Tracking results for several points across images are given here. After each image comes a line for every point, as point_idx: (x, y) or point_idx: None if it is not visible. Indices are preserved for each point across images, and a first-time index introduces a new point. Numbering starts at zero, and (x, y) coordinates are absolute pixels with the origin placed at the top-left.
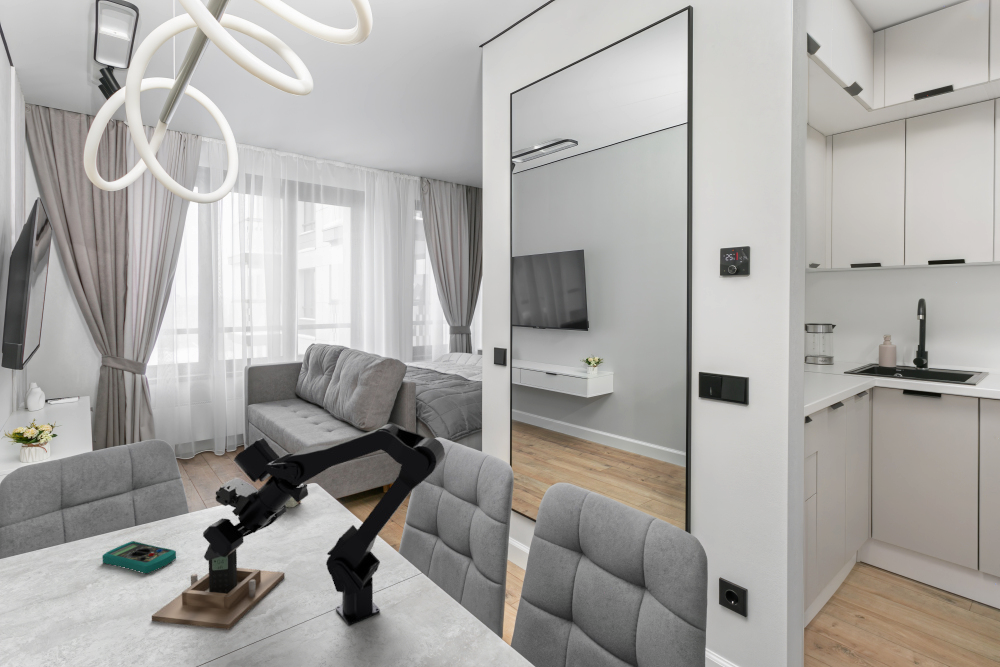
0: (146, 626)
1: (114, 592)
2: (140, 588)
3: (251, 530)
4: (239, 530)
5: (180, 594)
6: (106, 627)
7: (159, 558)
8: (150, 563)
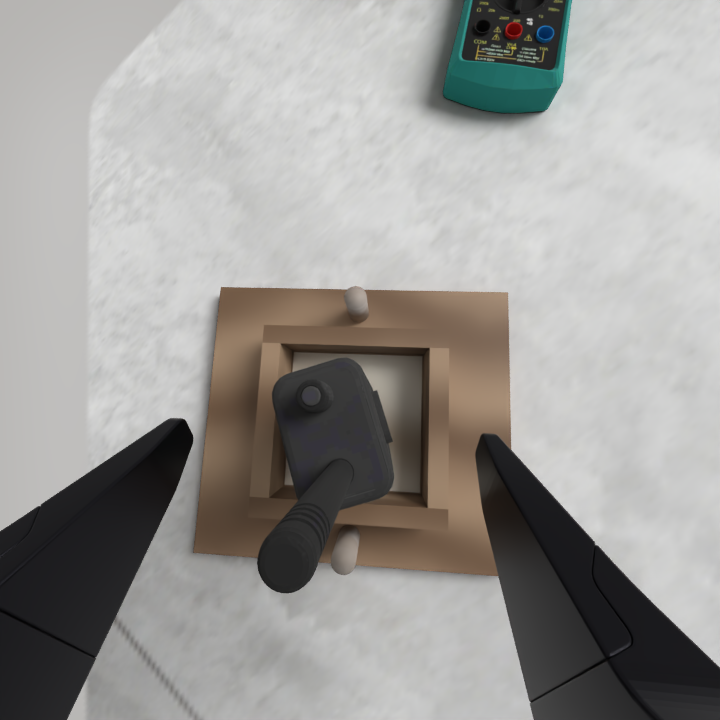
0: (205, 297)
1: (342, 92)
2: (369, 142)
3: (511, 592)
4: (496, 475)
5: (328, 289)
6: (197, 202)
7: (494, 74)
8: (463, 71)
